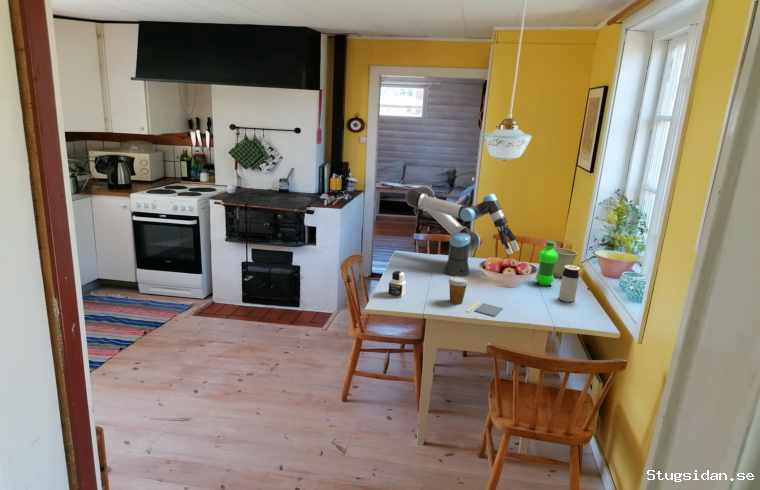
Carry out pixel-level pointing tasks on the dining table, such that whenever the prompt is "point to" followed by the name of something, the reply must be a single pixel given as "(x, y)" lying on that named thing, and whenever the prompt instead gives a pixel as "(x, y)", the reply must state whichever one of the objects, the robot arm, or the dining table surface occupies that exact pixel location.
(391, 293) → the medicine bottle
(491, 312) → the mat
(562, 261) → the plant pot
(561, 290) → the travel mug
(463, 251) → the robot arm
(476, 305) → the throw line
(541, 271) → the plastic bottle
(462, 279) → the disposable coffee cup
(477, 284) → the dining table surface
